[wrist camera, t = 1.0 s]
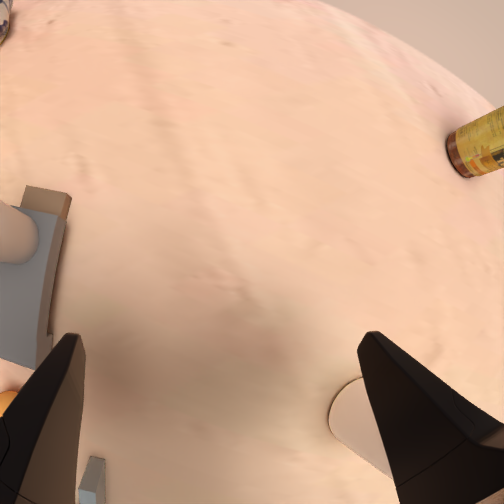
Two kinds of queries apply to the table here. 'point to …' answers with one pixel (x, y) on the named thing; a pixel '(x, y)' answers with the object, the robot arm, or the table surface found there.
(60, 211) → the rail
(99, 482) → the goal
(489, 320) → the table surface
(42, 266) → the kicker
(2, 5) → the chinaware
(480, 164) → the sauce bottle
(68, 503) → the robot arm
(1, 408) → the ball
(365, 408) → the can
